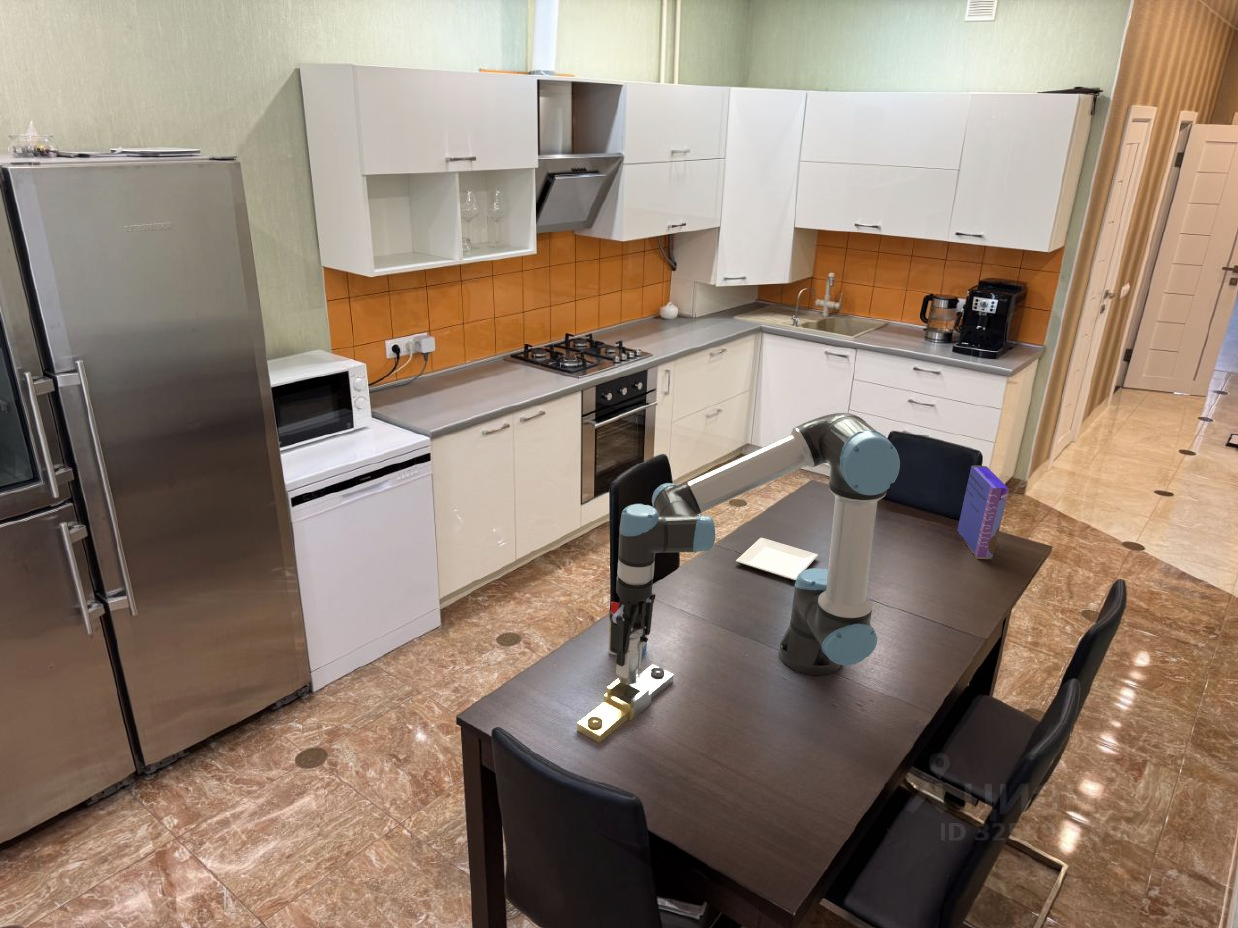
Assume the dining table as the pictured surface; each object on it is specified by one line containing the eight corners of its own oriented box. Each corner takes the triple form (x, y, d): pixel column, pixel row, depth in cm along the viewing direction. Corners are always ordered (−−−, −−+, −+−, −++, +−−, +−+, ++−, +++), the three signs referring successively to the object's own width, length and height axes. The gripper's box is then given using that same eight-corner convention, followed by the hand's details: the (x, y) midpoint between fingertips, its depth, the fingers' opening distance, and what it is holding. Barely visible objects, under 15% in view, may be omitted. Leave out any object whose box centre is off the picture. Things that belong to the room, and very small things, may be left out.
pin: (643, 678, 189) (647, 628, 185) (630, 689, 186) (633, 638, 181) (625, 669, 192) (628, 620, 187) (611, 679, 188) (614, 629, 184)
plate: (817, 560, 259) (818, 553, 258) (794, 585, 244) (795, 579, 244) (760, 542, 268) (760, 536, 267) (734, 566, 253) (735, 560, 252)
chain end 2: (675, 682, 200) (677, 666, 198) (633, 718, 188) (634, 701, 186) (649, 670, 204) (650, 653, 202) (606, 703, 192) (607, 687, 190)
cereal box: (992, 560, 264) (1009, 488, 255) (976, 559, 264) (993, 487, 255) (971, 534, 280) (986, 465, 271) (956, 533, 280) (971, 465, 271)
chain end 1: (648, 705, 192) (649, 689, 190) (601, 744, 179) (602, 726, 178) (621, 692, 196) (622, 675, 194) (574, 728, 183) (574, 711, 182)
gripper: (644, 556, 188) (637, 647, 197) (595, 585, 175) (590, 681, 184) (672, 568, 184) (664, 660, 192) (624, 599, 171) (618, 696, 180)
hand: (628, 670), depth 188 cm, fingers closed on pin, 4 cm apart
